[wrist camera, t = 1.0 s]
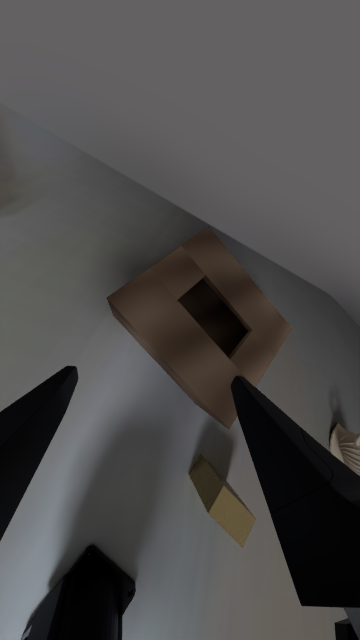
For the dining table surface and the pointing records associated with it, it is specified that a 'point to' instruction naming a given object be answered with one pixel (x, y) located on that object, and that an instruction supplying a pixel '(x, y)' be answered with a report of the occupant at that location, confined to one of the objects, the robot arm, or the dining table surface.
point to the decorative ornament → (346, 447)
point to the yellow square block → (221, 501)
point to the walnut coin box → (202, 322)
